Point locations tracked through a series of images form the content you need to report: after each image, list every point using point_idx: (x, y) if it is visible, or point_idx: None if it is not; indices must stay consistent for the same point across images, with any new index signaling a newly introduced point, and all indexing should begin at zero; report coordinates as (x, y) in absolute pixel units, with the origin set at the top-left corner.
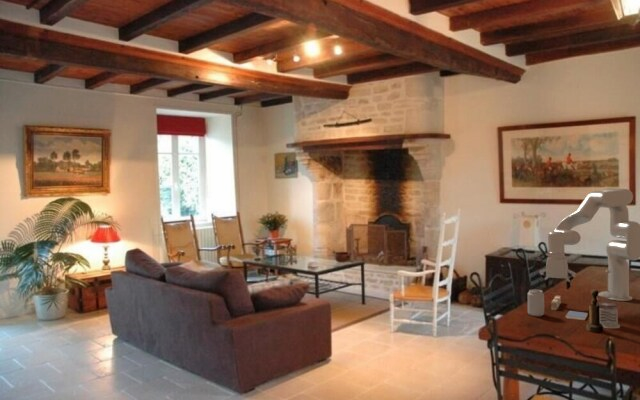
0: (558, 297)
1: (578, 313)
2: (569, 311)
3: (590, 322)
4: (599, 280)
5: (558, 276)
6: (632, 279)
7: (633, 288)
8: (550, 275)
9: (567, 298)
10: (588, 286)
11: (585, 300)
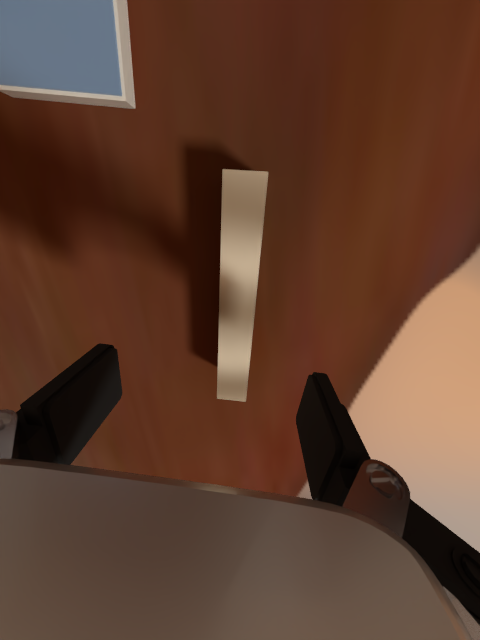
0: (225, 357)
1: (31, 6)
2: (115, 63)
3: None
4: None
5: (86, 510)
6: None
7: None
8: (321, 564)
9: (205, 448)
10: None
11: (134, 435)
